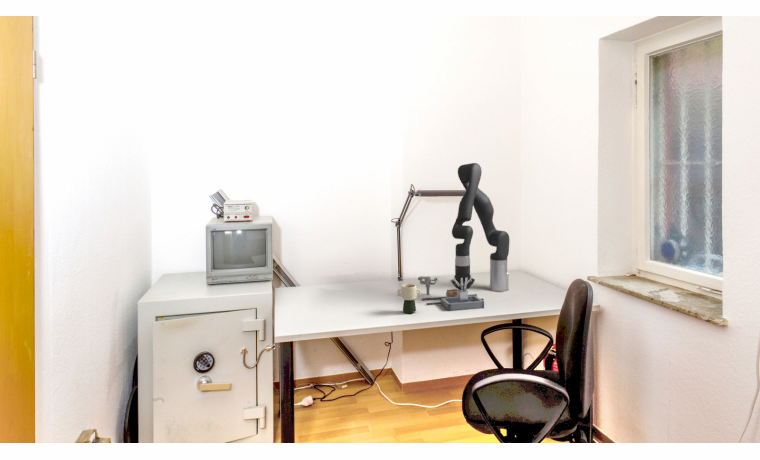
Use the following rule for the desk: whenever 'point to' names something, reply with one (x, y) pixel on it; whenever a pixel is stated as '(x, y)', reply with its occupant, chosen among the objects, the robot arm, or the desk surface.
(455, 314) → the desk surface
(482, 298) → the slide rails
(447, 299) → the tray
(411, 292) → the character mug
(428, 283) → the mechanical component
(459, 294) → the stop block
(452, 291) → the slider
